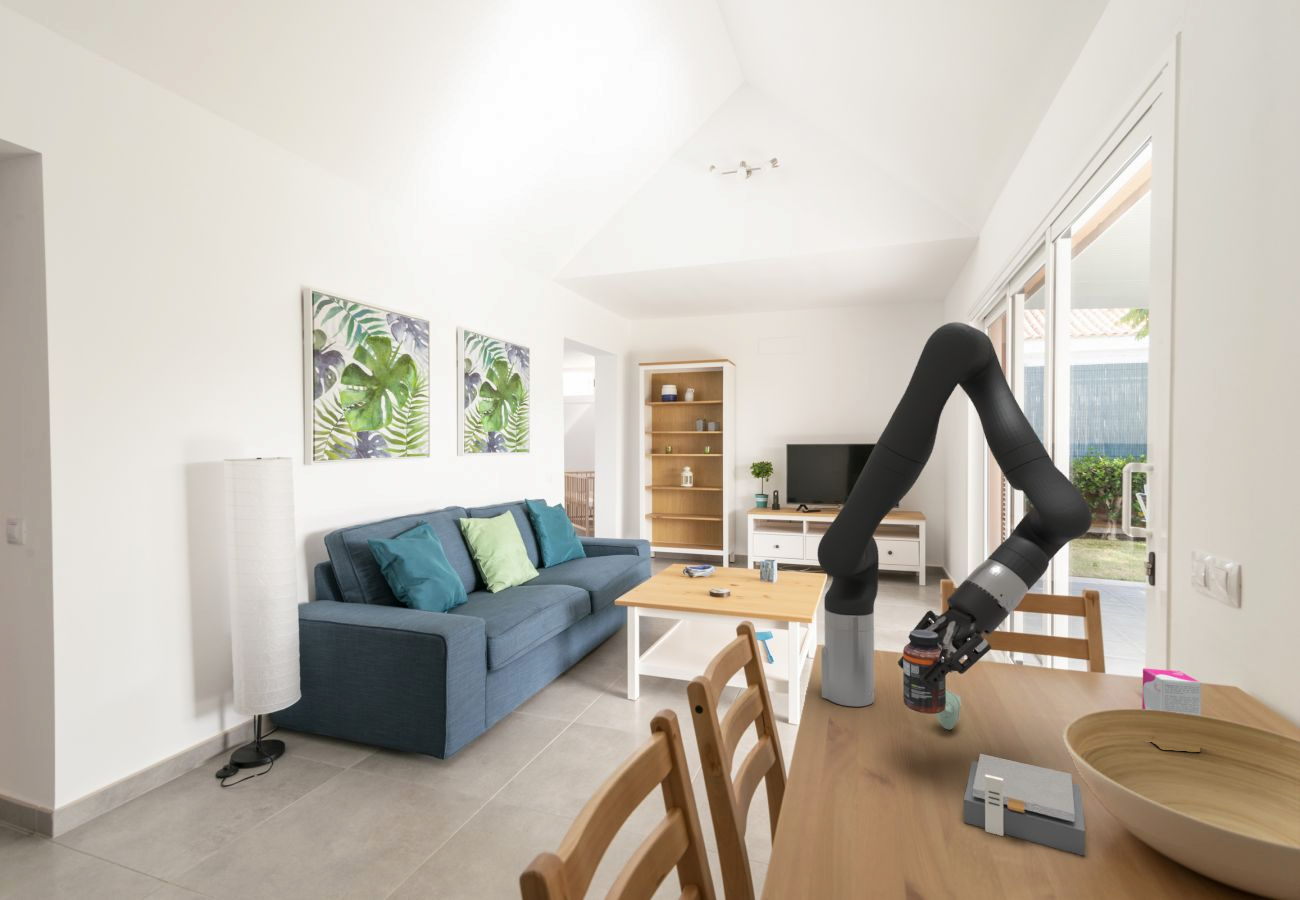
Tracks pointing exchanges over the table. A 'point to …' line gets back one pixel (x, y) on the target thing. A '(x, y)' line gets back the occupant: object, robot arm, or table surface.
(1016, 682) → the table surface
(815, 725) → the table surface
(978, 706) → the table surface
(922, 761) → the table surface
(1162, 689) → the supplement box
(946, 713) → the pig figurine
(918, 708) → the supplement bottle
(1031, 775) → the scale pan
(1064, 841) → the scale base
